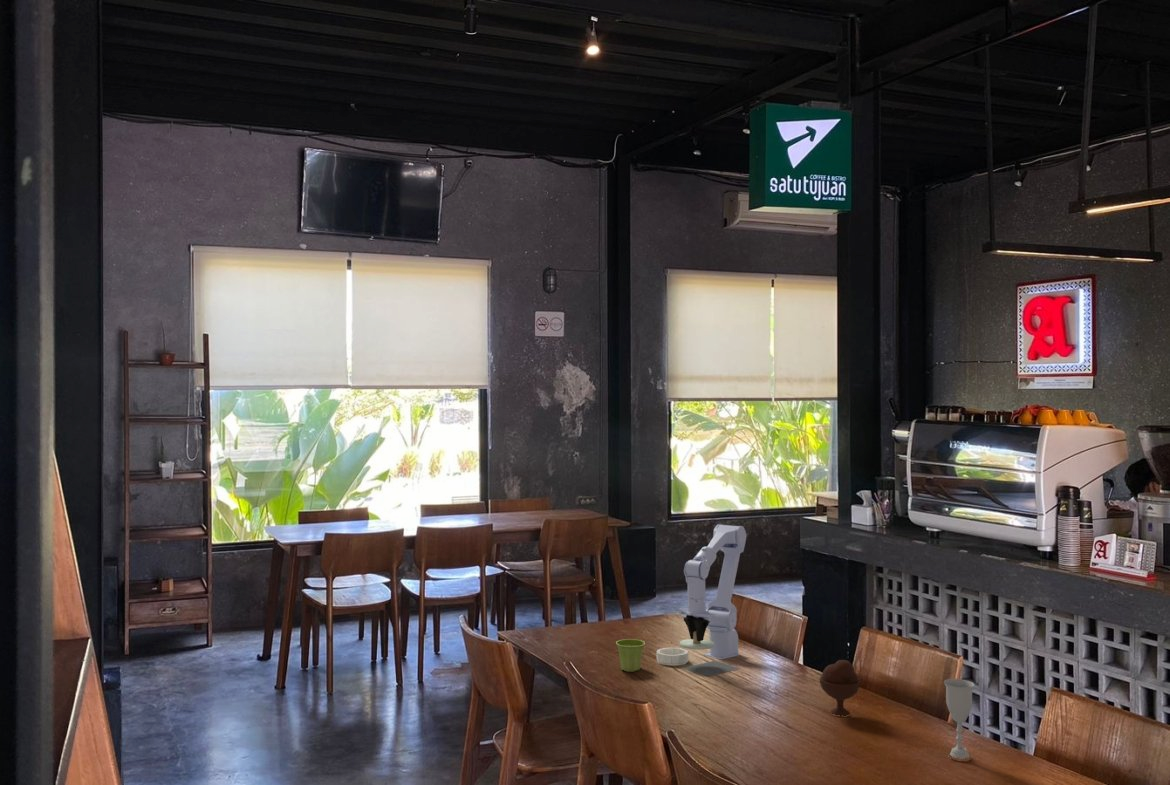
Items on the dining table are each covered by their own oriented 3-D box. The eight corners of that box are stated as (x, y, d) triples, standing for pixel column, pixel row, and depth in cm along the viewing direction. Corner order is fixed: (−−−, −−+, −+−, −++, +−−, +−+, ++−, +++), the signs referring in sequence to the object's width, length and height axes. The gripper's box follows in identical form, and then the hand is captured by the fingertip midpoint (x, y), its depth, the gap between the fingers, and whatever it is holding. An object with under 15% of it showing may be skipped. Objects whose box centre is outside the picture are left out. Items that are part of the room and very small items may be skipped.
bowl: (673, 656, 333) (673, 646, 333) (694, 663, 325) (694, 652, 325) (650, 661, 327) (650, 650, 327) (671, 668, 319) (670, 657, 319)
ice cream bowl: (861, 709, 275) (861, 655, 275) (859, 722, 265) (858, 666, 265) (822, 706, 279) (822, 652, 279) (818, 718, 268) (817, 662, 268)
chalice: (939, 753, 241) (938, 679, 241) (966, 752, 242) (965, 678, 242) (952, 764, 234) (952, 688, 234) (980, 763, 235) (979, 687, 235)
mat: (713, 662, 326) (713, 660, 326) (740, 669, 316) (740, 668, 316) (681, 669, 318) (681, 668, 318) (708, 677, 308) (708, 676, 308)
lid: (697, 639, 328) (697, 626, 328) (721, 646, 319) (721, 632, 319) (672, 644, 321) (672, 631, 321) (696, 651, 312) (695, 637, 312)
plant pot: (645, 665, 322) (645, 639, 322) (644, 673, 313) (644, 646, 313) (617, 665, 323) (616, 638, 323) (615, 673, 314) (614, 645, 314)
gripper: (672, 595, 323) (672, 637, 323) (703, 602, 312) (703, 646, 312) (687, 593, 328) (688, 634, 328) (719, 599, 316) (719, 642, 316)
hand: (696, 639), depth 320 cm, fingers closed on lid, 2 cm apart
